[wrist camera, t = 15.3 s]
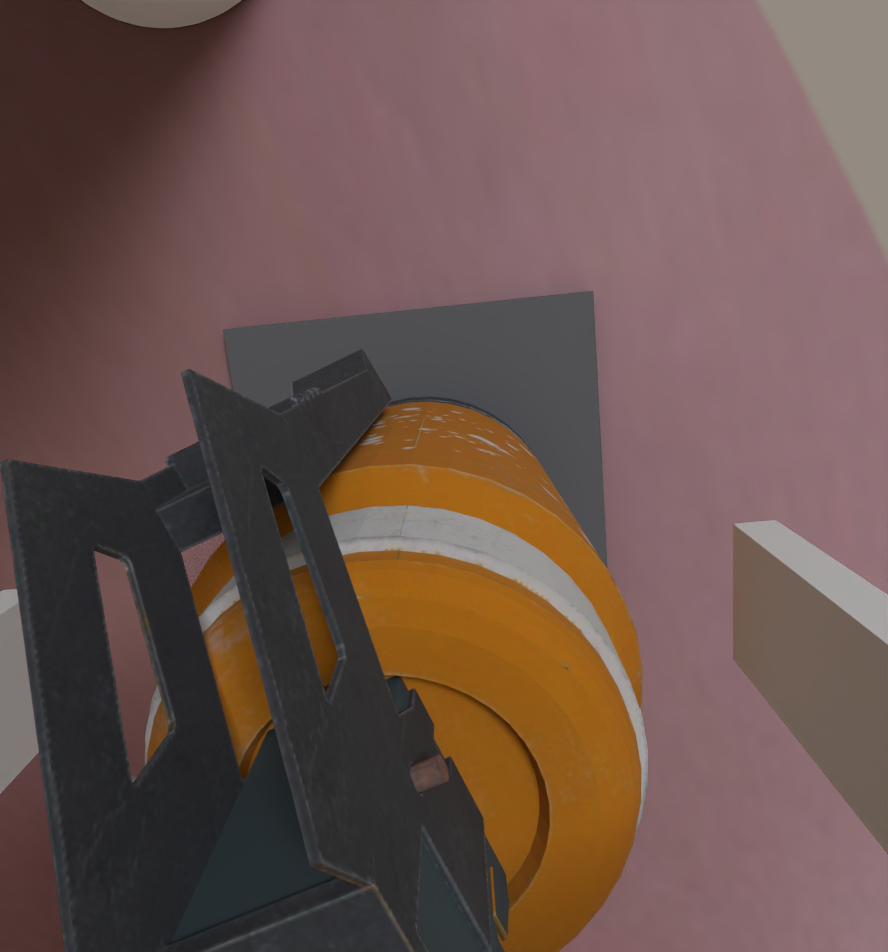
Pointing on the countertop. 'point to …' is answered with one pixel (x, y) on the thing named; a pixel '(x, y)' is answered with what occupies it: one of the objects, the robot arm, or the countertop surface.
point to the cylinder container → (162, 11)
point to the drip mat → (464, 374)
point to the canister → (332, 685)
